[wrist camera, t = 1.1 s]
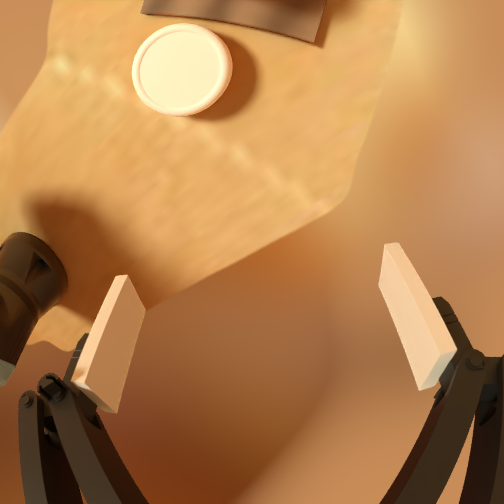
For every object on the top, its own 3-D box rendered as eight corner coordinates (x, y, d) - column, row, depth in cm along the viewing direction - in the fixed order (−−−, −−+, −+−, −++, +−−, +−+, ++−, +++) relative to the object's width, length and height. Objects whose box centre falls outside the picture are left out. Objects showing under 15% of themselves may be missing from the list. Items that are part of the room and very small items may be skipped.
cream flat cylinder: (125, 76, 27) (112, 78, 24) (185, 9, 23) (177, 4, 20) (188, 129, 31) (181, 136, 28) (252, 66, 27) (252, 67, 24)
